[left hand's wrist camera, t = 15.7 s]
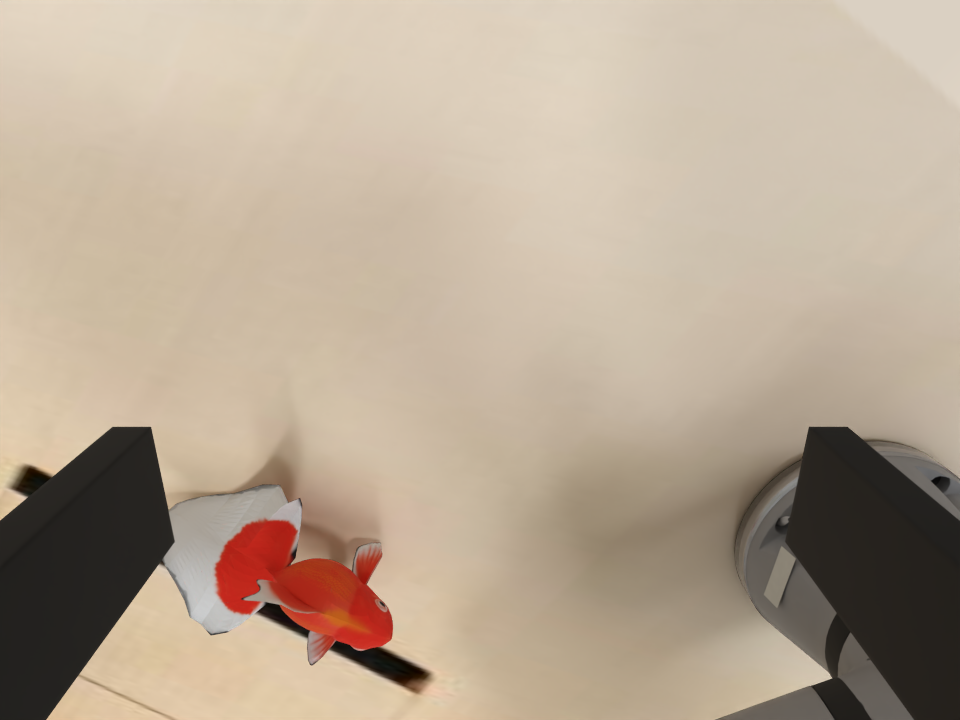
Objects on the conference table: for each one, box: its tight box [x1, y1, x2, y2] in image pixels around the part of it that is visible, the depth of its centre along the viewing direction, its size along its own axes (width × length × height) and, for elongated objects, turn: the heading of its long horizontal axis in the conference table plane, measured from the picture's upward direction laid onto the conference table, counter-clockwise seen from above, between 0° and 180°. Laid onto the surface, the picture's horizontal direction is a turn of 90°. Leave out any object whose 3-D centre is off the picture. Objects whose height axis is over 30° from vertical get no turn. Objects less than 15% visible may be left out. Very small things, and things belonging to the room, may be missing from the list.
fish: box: [162, 485, 393, 665], centre depth 39 cm, size 11×16×10 cm
